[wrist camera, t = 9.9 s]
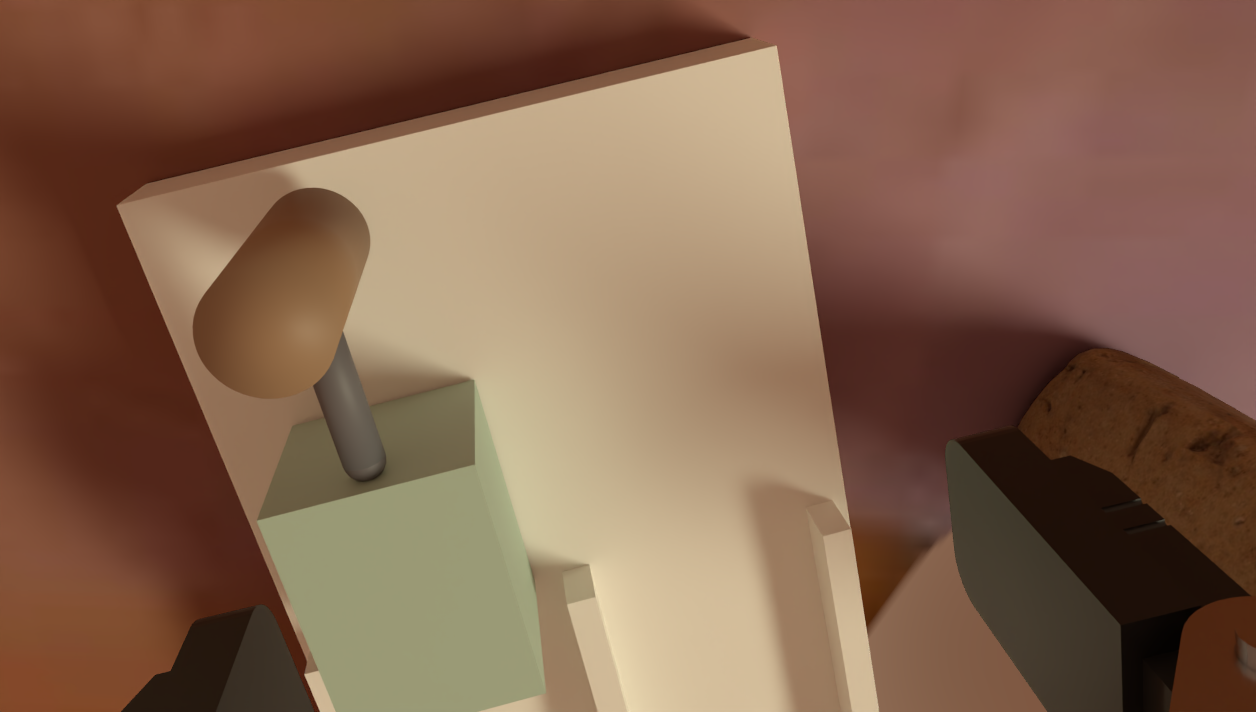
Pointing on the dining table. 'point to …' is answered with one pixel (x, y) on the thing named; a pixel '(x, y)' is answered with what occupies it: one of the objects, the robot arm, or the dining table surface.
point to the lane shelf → (588, 367)
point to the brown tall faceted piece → (1159, 448)
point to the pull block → (373, 486)
